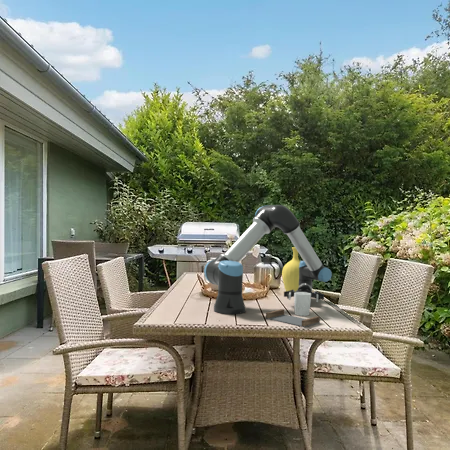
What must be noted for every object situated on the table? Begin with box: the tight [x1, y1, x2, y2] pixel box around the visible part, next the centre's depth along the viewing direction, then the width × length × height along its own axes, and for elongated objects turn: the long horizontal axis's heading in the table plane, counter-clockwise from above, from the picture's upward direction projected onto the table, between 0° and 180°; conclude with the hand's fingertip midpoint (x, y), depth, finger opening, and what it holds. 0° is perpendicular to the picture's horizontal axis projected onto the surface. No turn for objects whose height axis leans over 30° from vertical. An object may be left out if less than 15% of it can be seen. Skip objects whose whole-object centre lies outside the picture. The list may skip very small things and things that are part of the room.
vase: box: [281, 246, 301, 291], centre depth 254 cm, size 16×16×28 cm
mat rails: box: [265, 308, 321, 327], centre depth 179 cm, size 20×12×2 cm, turn 47°
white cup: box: [293, 292, 312, 317], centre depth 192 cm, size 8×8×10 cm
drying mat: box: [265, 313, 321, 328], centre depth 179 cm, size 20×12×1 cm, turn 47°
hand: (303, 298), depth 201 cm, fingers open, 13 cm apart
